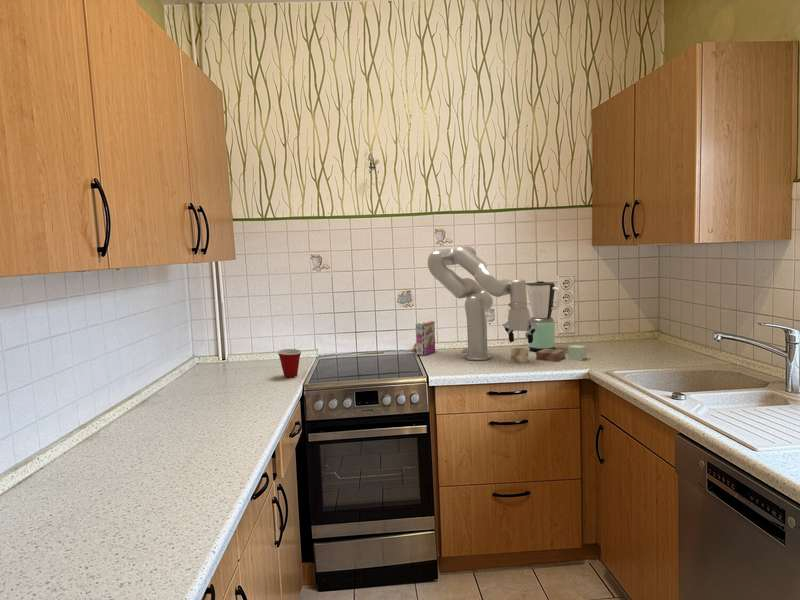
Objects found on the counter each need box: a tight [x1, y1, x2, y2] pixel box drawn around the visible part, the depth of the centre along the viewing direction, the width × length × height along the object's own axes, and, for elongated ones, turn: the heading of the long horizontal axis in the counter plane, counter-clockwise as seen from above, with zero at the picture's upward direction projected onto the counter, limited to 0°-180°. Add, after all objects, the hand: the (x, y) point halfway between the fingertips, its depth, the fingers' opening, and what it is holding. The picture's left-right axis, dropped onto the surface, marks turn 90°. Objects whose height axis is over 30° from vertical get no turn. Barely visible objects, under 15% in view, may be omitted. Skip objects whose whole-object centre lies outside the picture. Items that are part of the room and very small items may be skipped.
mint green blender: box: [525, 280, 562, 352], centre depth 301 cm, size 19×13×35 cm
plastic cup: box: [277, 348, 303, 378], centre depth 269 cm, size 11×11×12 cm
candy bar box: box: [415, 320, 436, 356], centre depth 307 cm, size 11×5×16 cm, turn 144°
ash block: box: [510, 346, 529, 364], centre depth 279 cm, size 6×6×6 cm
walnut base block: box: [535, 348, 566, 363], centre depth 282 cm, size 10×10×4 cm
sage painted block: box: [567, 344, 587, 362], centre depth 279 cm, size 6×6×6 cm
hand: (521, 342), depth 278 cm, fingers open, 9 cm apart
